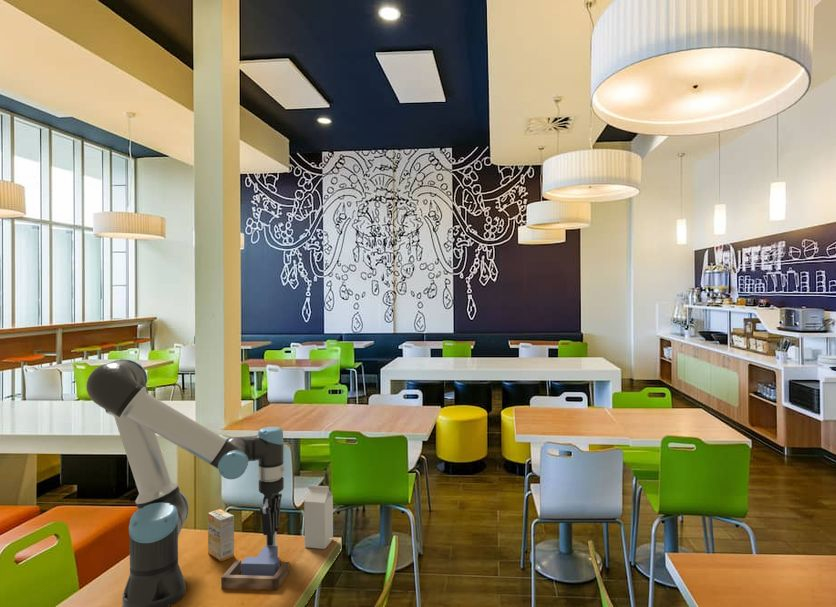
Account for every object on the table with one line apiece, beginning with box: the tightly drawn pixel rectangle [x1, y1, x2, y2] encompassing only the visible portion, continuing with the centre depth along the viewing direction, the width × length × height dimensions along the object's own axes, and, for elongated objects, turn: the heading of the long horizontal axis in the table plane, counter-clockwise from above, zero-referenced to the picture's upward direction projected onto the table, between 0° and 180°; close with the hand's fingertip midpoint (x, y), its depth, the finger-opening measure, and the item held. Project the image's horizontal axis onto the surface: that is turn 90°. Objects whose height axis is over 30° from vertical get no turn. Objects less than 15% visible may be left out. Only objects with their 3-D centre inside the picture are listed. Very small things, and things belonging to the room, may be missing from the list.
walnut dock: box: [220, 560, 290, 591], centre depth 147 cm, size 16×10×3 cm, turn 85°
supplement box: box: [207, 508, 235, 562], centre depth 162 cm, size 8×5×13 cm, turn 49°
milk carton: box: [303, 484, 334, 550], centre depth 169 cm, size 7×7×19 cm
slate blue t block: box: [240, 545, 281, 576], centre depth 153 cm, size 11×10×4 cm
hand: (271, 553), depth 159 cm, fingers closed
